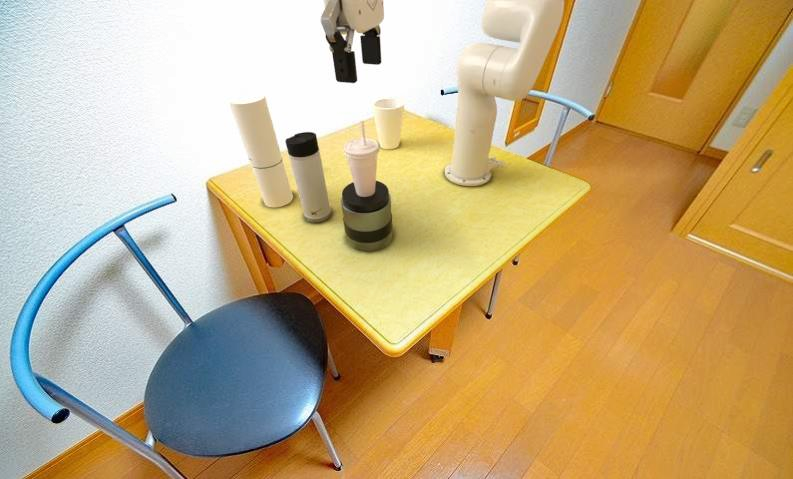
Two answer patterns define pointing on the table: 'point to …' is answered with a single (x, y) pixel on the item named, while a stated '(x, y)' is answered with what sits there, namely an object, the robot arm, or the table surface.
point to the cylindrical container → (261, 147)
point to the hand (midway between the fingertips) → (360, 72)
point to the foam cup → (388, 121)
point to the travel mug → (309, 176)
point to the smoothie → (362, 163)
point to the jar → (367, 218)
